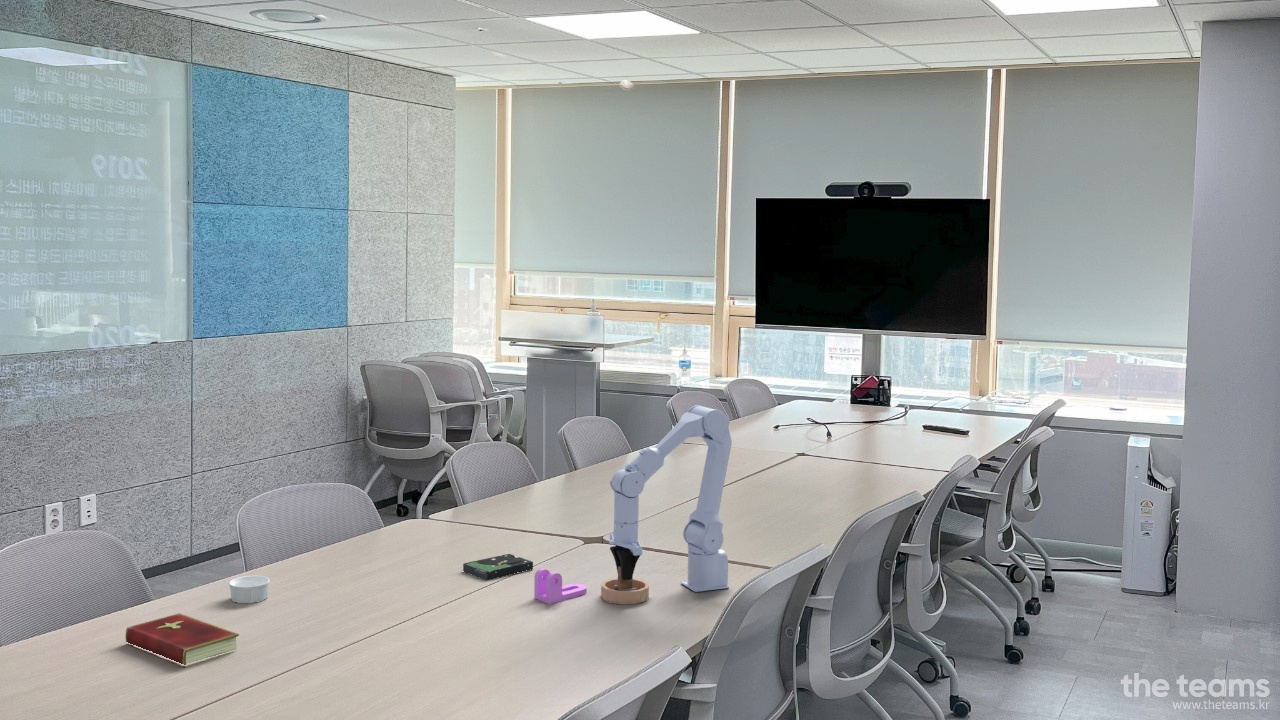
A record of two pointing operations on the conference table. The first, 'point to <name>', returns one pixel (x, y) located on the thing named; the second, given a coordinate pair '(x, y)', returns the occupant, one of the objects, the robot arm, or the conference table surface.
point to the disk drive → (497, 566)
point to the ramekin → (249, 589)
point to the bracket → (554, 587)
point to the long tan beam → (623, 581)
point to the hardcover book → (182, 638)
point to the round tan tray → (624, 592)
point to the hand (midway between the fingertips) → (625, 578)
